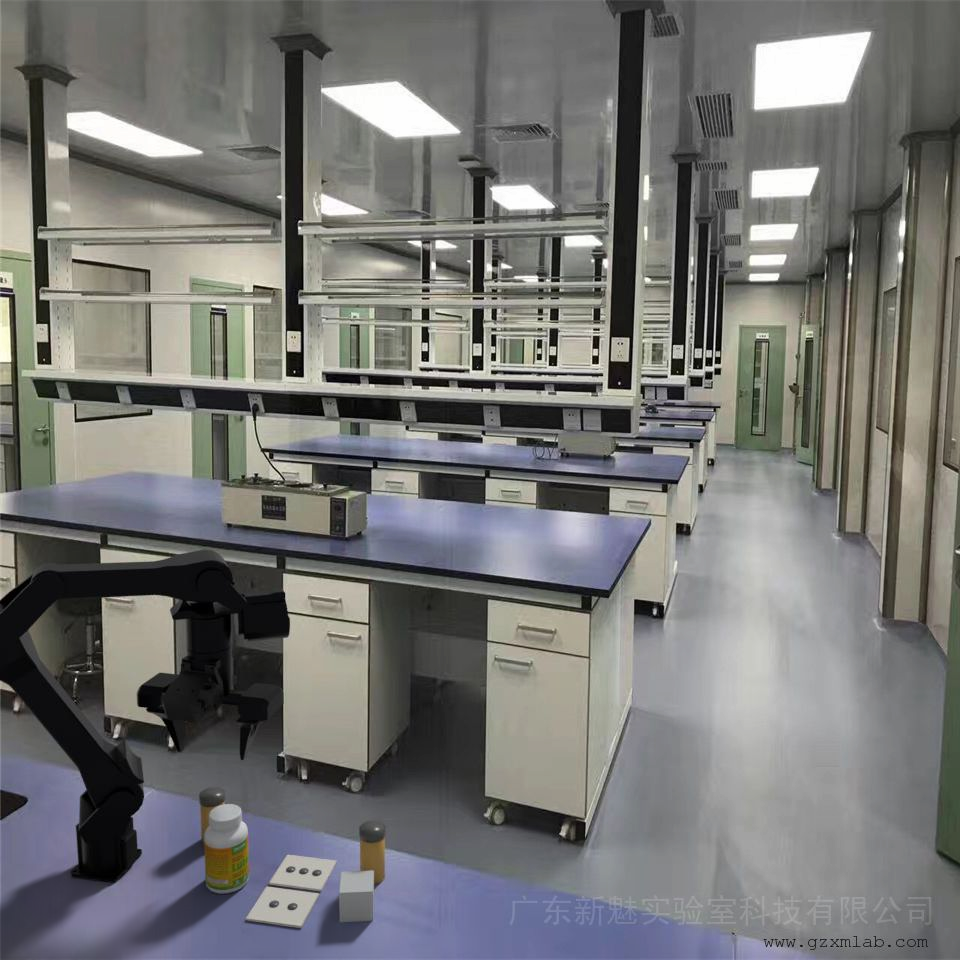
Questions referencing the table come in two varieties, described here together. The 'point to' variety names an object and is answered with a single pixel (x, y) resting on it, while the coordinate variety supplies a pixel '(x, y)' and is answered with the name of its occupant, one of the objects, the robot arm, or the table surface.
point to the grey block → (356, 896)
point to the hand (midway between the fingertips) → (212, 754)
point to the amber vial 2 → (373, 848)
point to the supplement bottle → (226, 850)
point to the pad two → (283, 907)
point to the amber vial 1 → (209, 805)
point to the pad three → (303, 873)
